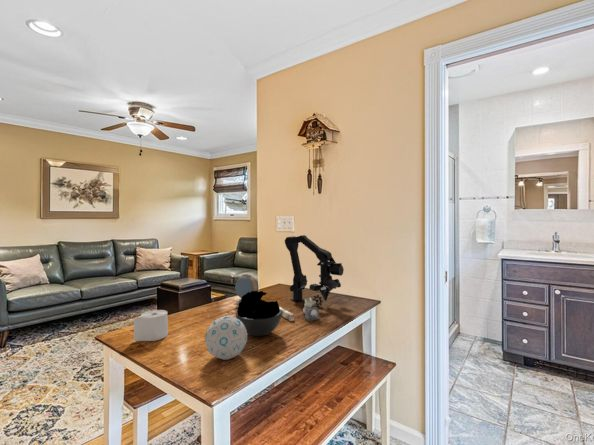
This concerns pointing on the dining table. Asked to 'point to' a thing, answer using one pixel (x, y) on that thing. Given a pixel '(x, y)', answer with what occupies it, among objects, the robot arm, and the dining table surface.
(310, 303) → the valve
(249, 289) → the alarm clock
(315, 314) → the pipe stand
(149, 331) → the toilet tissue
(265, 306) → the bowl of black rocks
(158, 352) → the dining table surface
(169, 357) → the dining table surface
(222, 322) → the puzzle ball
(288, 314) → the fence
